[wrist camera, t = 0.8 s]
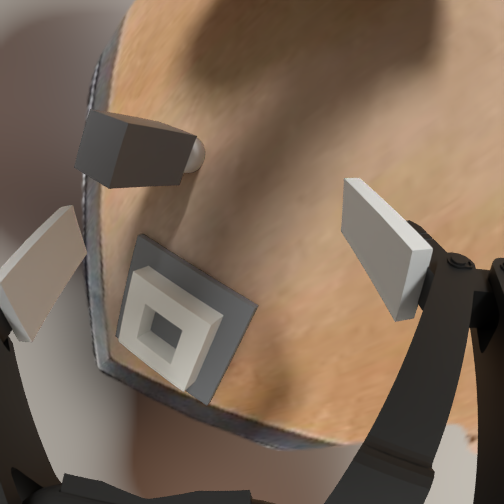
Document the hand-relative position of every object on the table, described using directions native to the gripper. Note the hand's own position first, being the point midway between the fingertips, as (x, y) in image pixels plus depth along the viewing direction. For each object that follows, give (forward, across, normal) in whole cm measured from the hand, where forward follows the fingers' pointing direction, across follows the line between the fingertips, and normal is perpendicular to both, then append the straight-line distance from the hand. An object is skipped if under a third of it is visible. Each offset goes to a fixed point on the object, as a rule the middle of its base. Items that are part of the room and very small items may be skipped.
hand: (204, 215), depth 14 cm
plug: (+24, -4, -2) cm, 24 cm away
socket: (+18, -8, -23) cm, 31 cm away
